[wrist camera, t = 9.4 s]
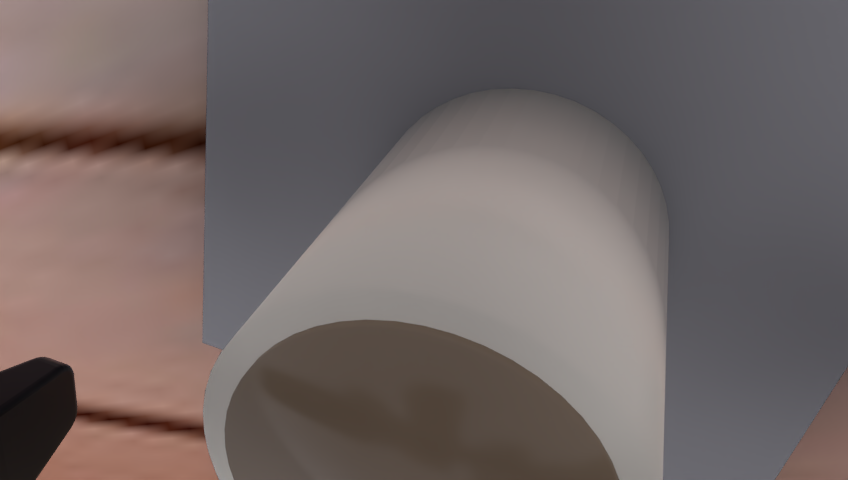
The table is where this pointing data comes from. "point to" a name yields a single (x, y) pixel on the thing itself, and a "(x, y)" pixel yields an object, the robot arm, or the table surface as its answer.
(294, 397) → the pot
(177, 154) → the table surface
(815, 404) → the mat
